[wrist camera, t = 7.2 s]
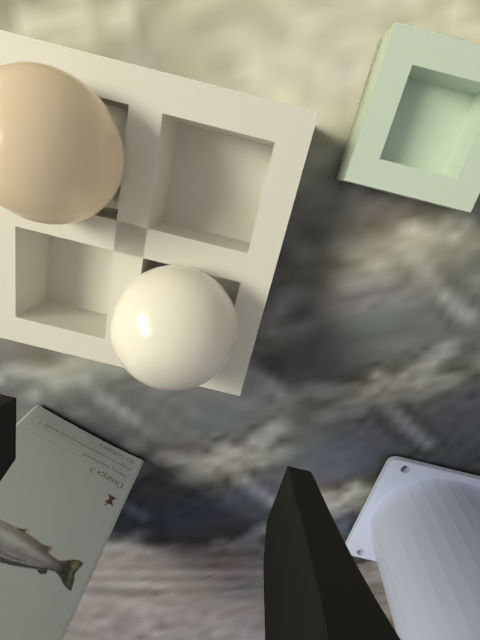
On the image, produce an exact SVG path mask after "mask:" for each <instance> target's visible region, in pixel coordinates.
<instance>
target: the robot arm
mask: <svg viewBox="0 0 480 640" xmlns="http://www.w3.org/2000/svg"><path fill="white" fill-rule="evenodd" d="M15 459H16V398H13V397H9V396H5V395H1V394H0V481H1V480H2V478H3V477H4V475H5V474H6V472H7V471H8V469H9V468H10V467H11V465H12V464H13V462H14V461H15ZM403 466H407V467H405V468H402V467H403ZM352 556H356V557H360V558H364V559H369V560H373V561H377V564H378V568H379V571H380V575H381V579H382V582H383V586H384V589H385V593H386V597H387V600H388V604H389V607H390V611H391V615H392V618H393V622H394V626H395V629H396V632H395V630H394V628H393V627H392V625H391V624H390V622H389V620H388V619H387V617H386V615H385V614H384V612H383V610H382V609H381V607H380V605H379V604H378V602H377V600H376V599H375V597H374V595H373V593H372V592H371V590H370V588H369V586H368V585H367V583H366V581H365V579H364V578H363V576H362V574H361V572H360V570H359V568H358V567H357V565H356V563H355V561H354V559H353V557H352ZM264 605H265V640H480V476H477V475H473V474H469V473H465V472H461V471H457V470H452V469H448V468H444V467H440V466H436V465H432V464H428V463H424V462H420V461H416V460H411V459H407V458H403V457H399V456H393V457H390V458H388V459H387V461H386V463H385V465H384V467H383V469H382V471H381V473H380V474H379V476H378V478H377V480H376V482H375V484H374V486H373V488H372V490H371V492H370V494H369V496H368V498H367V500H366V502H365V504H364V506H363V508H362V510H361V512H360V514H359V516H358V518H357V520H356V522H355V524H354V526H353V528H352V530H351V532H350V534H349V536H348V538H347V540H346V542H344V540H343V538H342V536H341V534H340V532H339V530H338V528H337V526H336V524H335V522H334V520H333V518H332V516H331V514H330V512H329V510H328V507H327V505H326V503H325V501H324V499H323V497H322V495H321V492H320V490H319V488H318V486H317V484H316V481H315V479H314V477H313V475H312V473H311V472H309V471H305V470H301V469H297V468H293V467H289V466H288V467H287V469H286V472H285V475H284V477H283V480H282V483H281V485H280V488H279V491H278V493H277V496H276V499H275V501H274V504H273V506H272V509H271V512H270V514H269V517H268V520H267V527H266V539H265V552H264Z"/></svg>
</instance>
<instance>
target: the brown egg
mask: <svg viewBox="0 0 480 640" xmlns="http://www.w3.org/2000/svg"><path fill="white" fill-rule="evenodd" d="M123 171H124V148H123V142H122V138H121V135H120V132H119V129H118V127H117V124H116V122H115V120H114V118H113V116H112V114H111V113H110V111H109V109H108V108H107V107H106V105H105V104H104V103H103V101H102V100H101V99H100V98H99V97H98V96H97V95H96V93H95V92H94V91H93V90H92V89H90V88H89V87H88V86H87V85H86V84H85V83H83V82H82V81H80V80H79V79H77V78H76V77H74V76H73V75H71V74H69V73H67V72H65V71H63V70H61V69H59V68H56V67H53V66H50V65H47V64H43V63H38V62H30V61H17V62H10V63H5V64H2V65H0V205H1V206H2V207H4V208H5V209H7V210H8V211H10V212H12V213H13V214H15V215H18V216H20V217H22V218H25V219H27V220H31V221H34V222H38V223H43V224H50V225H63V224H72V223H76V222H80V221H83V220H85V219H88V218H90V217H92V216H94V215H95V214H97V213H98V212H100V211H101V210H102V209H103V208H104V207H105V206H107V204H108V203H109V202H110V201H111V200H112V198H113V197H114V195H115V194H116V192H117V190H118V188H119V186H120V183H121V180H122V176H123Z"/></svg>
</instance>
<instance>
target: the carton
mask: <svg viewBox="0 0 480 640" xmlns="http://www.w3.org/2000/svg"><path fill="white" fill-rule="evenodd" d="M17 61H30V62H38V63H43V64H47V65H50V66H53V67H56V68H59V69H61V70H63V71H65V72H67V73H69V74H71V75H73V76H74V77H76V78H77V79H79V80H80V81H82V82H83V83H85V84H86V85H87V86H88V87H89V88H90V89H92V90H93V91H94V92H95V93H96V95H97V96H98V97H99V98H100V99H101V100H102V101H103V103H104V104H105V105H106V107H107V108H108V109H109V111H110V113H111V114H112V116H113V118H114V120H115V122H116V124H117V127H118V129H119V132H120V135H121V138H122V142H123V148H124V171H123V176H122V180H121V183H120V186H119V188H118V190H117V192H116V194H115V195H114V197H113V198H112V200H111V201H110V202H109V203H108V204H107V206H105V207H104V208H103V209H102V210H101V211H100V212H98V213H97V214H95V215H94V216H92V217H90V218H88V219H85V220H83V221H80V222H76V223H72V224H63V225H50V224H43V223H38V222H34V221H31V220H27V219H25V218H22V217H20V216H18V215H15V214H13V213H12V212H10V211H8V210H7V209H5V208H4V207H2V206H1V205H0V337H1V338H5V339H9V340H13V341H17V342H21V343H25V344H29V345H33V346H37V347H41V348H46V349H50V350H54V351H58V352H62V353H66V354H70V355H74V356H78V357H82V358H86V359H91V360H95V361H99V362H103V363H107V364H111V365H115V366H119V367H123V365H122V364H121V363H120V361H119V359H118V357H117V356H116V354H115V351H114V349H113V346H112V342H111V335H110V321H111V315H112V311H113V308H114V305H115V303H116V301H117V299H118V297H119V295H120V294H121V292H122V291H123V290H124V288H125V287H126V286H127V285H128V284H129V283H130V282H131V281H132V280H133V279H135V278H136V277H137V276H139V275H140V274H142V273H144V272H146V271H148V270H150V269H153V268H156V267H161V266H166V265H183V266H188V267H192V268H195V269H198V270H200V271H202V272H204V273H206V274H208V275H209V276H211V277H212V278H213V279H215V280H216V281H217V282H218V283H219V284H220V285H221V286H222V287H223V288H224V289H225V291H226V292H227V293H228V295H229V297H230V299H231V300H232V303H233V305H234V308H235V311H236V315H237V322H238V333H237V340H236V344H235V347H234V350H233V353H232V355H231V357H230V359H229V361H228V362H227V363H226V365H225V366H224V367H223V369H222V370H221V371H220V372H219V373H218V374H217V375H215V376H214V377H213V378H212V379H210V380H209V381H207V382H206V383H204V384H202V385H199V386H201V387H205V388H209V389H213V390H217V391H221V392H225V393H230V394H234V395H238V396H240V394H241V390H242V387H243V383H244V379H245V376H246V372H247V369H248V365H249V361H250V358H251V354H252V351H253V347H254V344H255V340H256V336H257V333H258V329H259V326H260V322H261V318H262V315H263V311H264V308H265V304H266V300H267V297H268V293H269V290H270V286H271V283H272V279H273V275H274V272H275V268H276V265H277V261H278V257H279V254H280V250H281V247H282V243H283V239H284V236H285V232H286V229H287V225H288V222H289V218H290V214H291V211H292V207H293V204H294V200H295V196H296V193H297V189H298V186H299V182H300V178H301V175H302V171H303V168H304V164H305V161H306V157H307V153H308V150H309V146H310V143H311V139H312V135H313V132H314V128H315V125H316V121H317V117H318V114H319V112H316V111H312V110H308V109H304V108H301V107H297V106H293V105H289V104H285V103H281V102H277V101H273V100H270V99H266V98H262V97H258V96H254V95H250V94H246V93H242V92H239V91H235V90H231V89H227V88H223V87H219V86H215V85H211V84H208V83H204V82H200V81H196V80H192V79H188V78H184V77H180V76H177V75H173V74H169V73H165V72H161V71H157V70H153V69H149V68H146V67H142V66H138V65H134V64H130V63H126V62H122V61H118V60H115V59H111V58H107V57H103V56H99V55H95V54H91V53H87V52H84V51H80V50H76V49H72V48H68V47H64V46H60V45H56V44H53V43H49V42H45V41H41V40H37V39H33V38H29V37H25V36H22V35H18V34H14V33H10V32H6V31H2V30H0V65H2V64H5V63H10V62H17ZM123 368H124V367H123Z"/></svg>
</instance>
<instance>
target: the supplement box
mask: <svg viewBox="0 0 480 640" xmlns="http://www.w3.org/2000/svg"><path fill="white" fill-rule="evenodd" d="M142 465H143V460H142V459H139V458H137V457H135V456H133V455H130V454H128V453H126V452H124V451H122V450H120V449H118V448H116V447H114V446H112V445H110V444H108V443H106V442H104V441H103V440H101V439H99V438H97V437H95V436H93V435H91V434H89V433H88V432H86V431H84V430H82V429H80V428H78V427H77V426H75V425H73V424H71V423H69V422H67V421H65V420H64V419H62V418H60V417H58V416H57V415H55V414H53V413H51V412H50V411H48V410H46V409H45V408H43V407H41V406H39V405H37V406H35V407H34V408H33V409H32V410H31V411H30V412H28V413H27V414H26V415H25V416H24V417H23V418H22V419H21V420H20V421H19V422H18V423H17V424H16V459H15V461H14V462H13V464H12V465H11V467H10V468H9V469H8V471H7V472H6V474H5V475H4V477H3V478H2V480H1V481H0V640H62V639H63V637H64V635H65V633H66V631H67V628H68V626H69V624H70V622H71V620H72V618H73V615H74V613H75V611H76V609H77V607H78V605H79V602H80V600H81V598H82V596H83V594H84V592H85V589H86V587H87V585H88V583H89V580H90V578H91V576H92V574H93V571H94V569H95V567H96V565H97V563H98V560H99V558H100V556H101V554H102V552H103V549H104V547H105V545H106V543H107V541H108V538H109V536H110V534H111V532H112V530H113V528H114V525H115V523H116V521H117V519H118V517H119V514H120V512H121V510H122V508H123V506H124V503H125V501H126V499H127V497H128V495H129V493H130V490H131V488H132V486H133V484H134V482H135V480H136V477H137V475H138V473H139V471H140V469H141V467H142Z"/></svg>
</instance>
